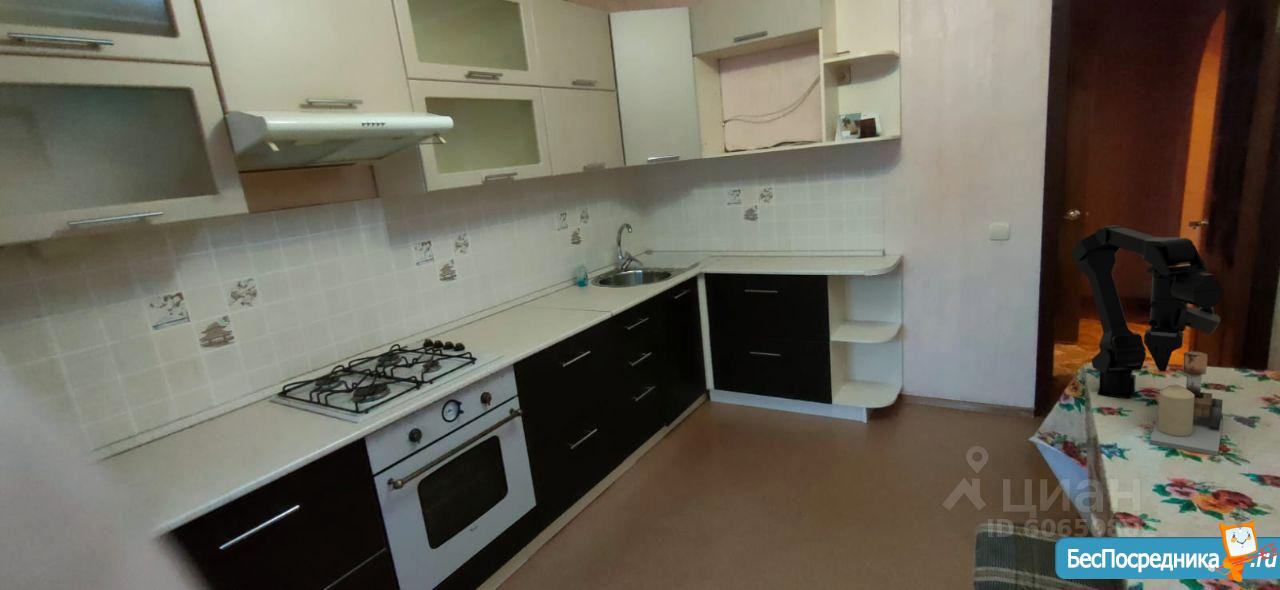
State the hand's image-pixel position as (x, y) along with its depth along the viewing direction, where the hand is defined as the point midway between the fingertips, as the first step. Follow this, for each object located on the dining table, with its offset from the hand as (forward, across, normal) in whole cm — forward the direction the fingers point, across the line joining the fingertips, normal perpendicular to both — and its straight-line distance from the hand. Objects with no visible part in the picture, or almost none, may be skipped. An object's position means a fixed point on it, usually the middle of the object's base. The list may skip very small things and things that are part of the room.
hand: (1163, 364), depth 139 cm
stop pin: (+6, 0, -5) cm, 8 cm away
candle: (+12, -10, -3) cm, 15 cm away
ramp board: (+12, -7, -5) cm, 15 cm away
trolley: (+12, -2, -5) cm, 14 cm away
